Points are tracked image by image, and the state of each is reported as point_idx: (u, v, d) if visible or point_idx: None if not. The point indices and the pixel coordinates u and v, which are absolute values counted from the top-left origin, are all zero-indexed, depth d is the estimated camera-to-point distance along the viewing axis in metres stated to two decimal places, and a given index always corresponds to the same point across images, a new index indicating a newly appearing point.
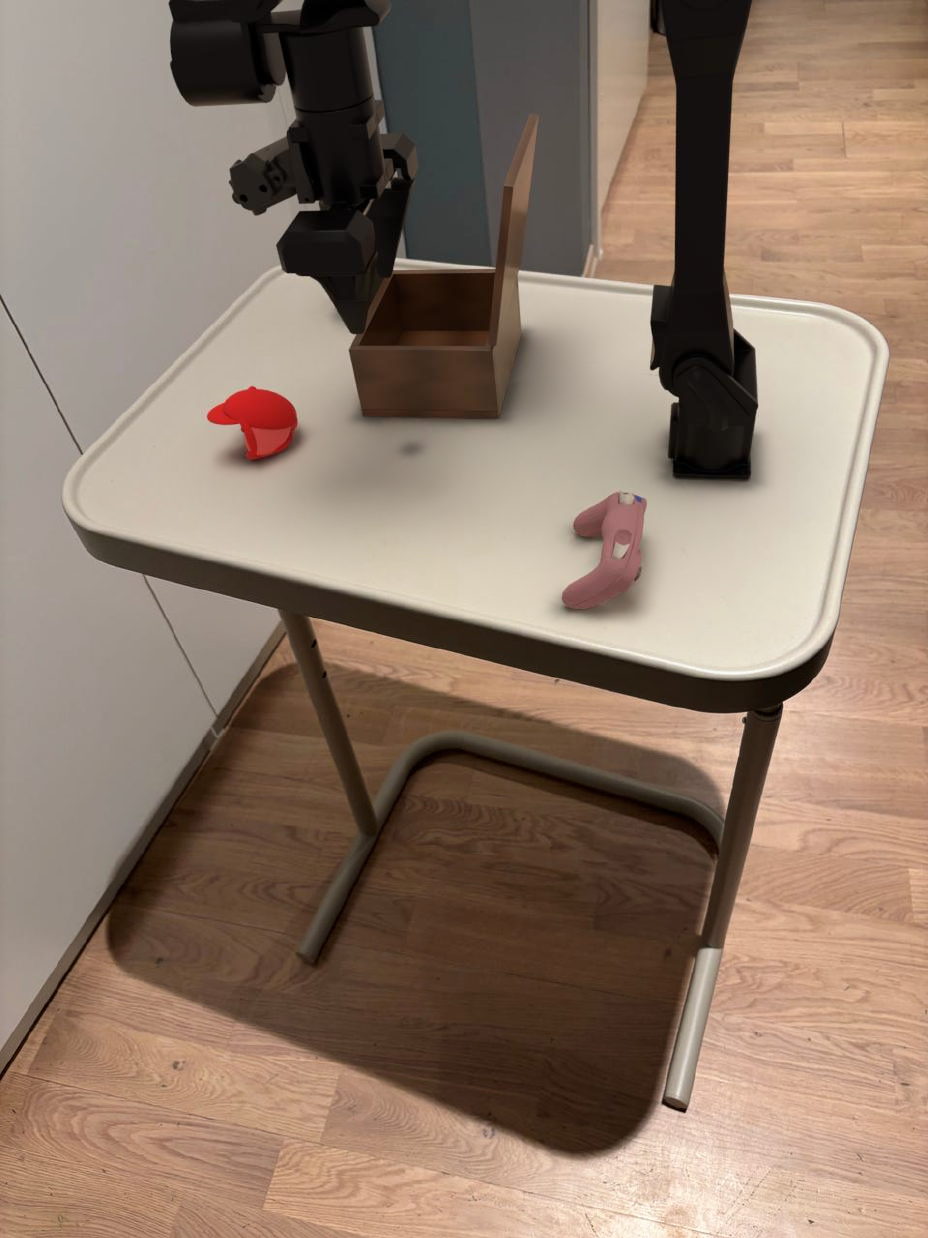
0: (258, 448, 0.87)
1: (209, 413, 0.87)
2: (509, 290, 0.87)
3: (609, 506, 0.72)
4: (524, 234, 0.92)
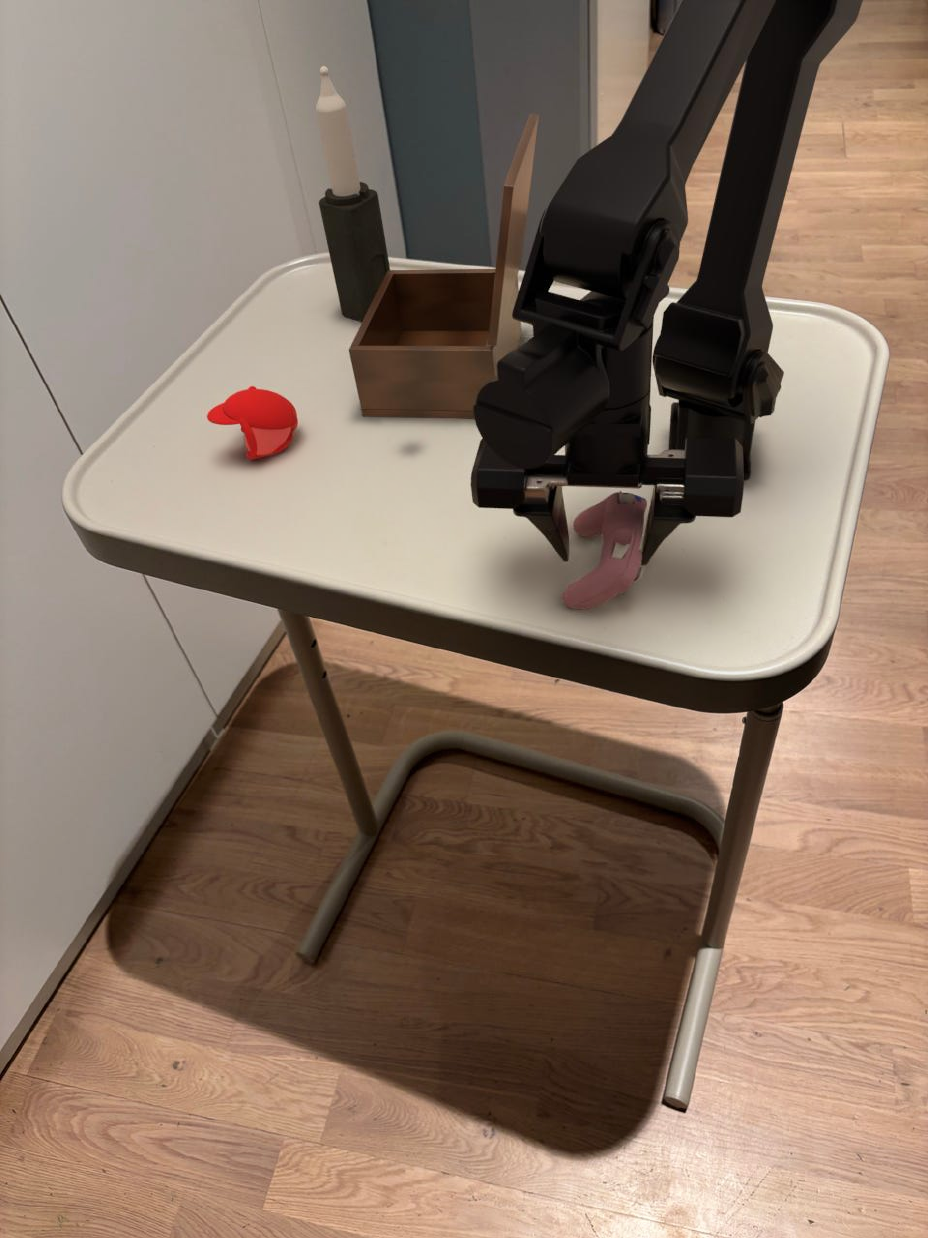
0: (258, 448, 0.87)
1: (209, 413, 0.87)
2: (509, 290, 0.87)
3: (609, 506, 0.72)
4: (524, 234, 0.92)
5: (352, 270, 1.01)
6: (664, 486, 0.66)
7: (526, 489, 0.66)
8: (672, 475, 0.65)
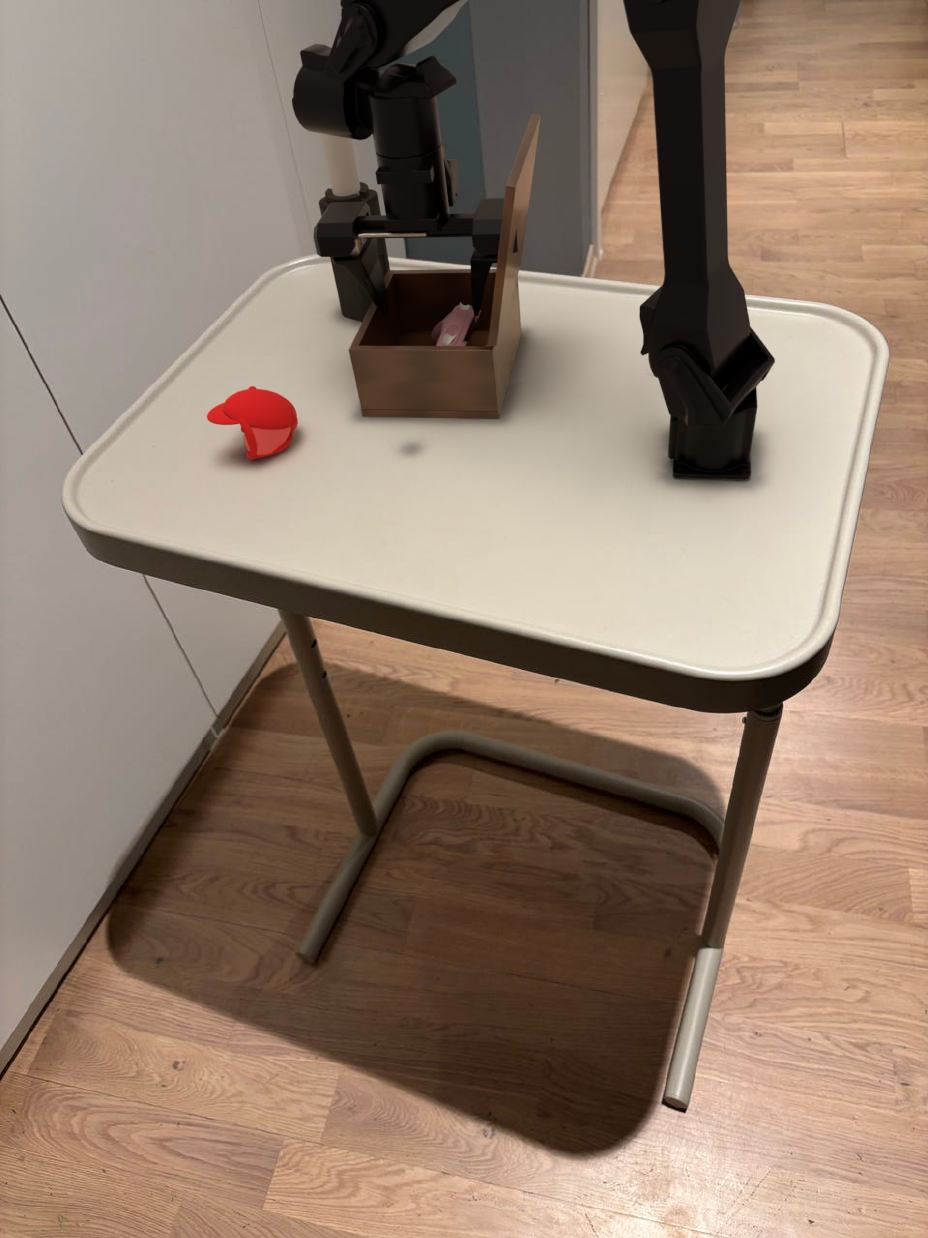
0: (258, 448, 0.87)
1: (209, 413, 0.87)
2: (509, 290, 0.87)
3: (450, 313, 0.93)
4: (524, 234, 0.92)
5: None
6: None
7: None
8: (468, 226, 0.84)
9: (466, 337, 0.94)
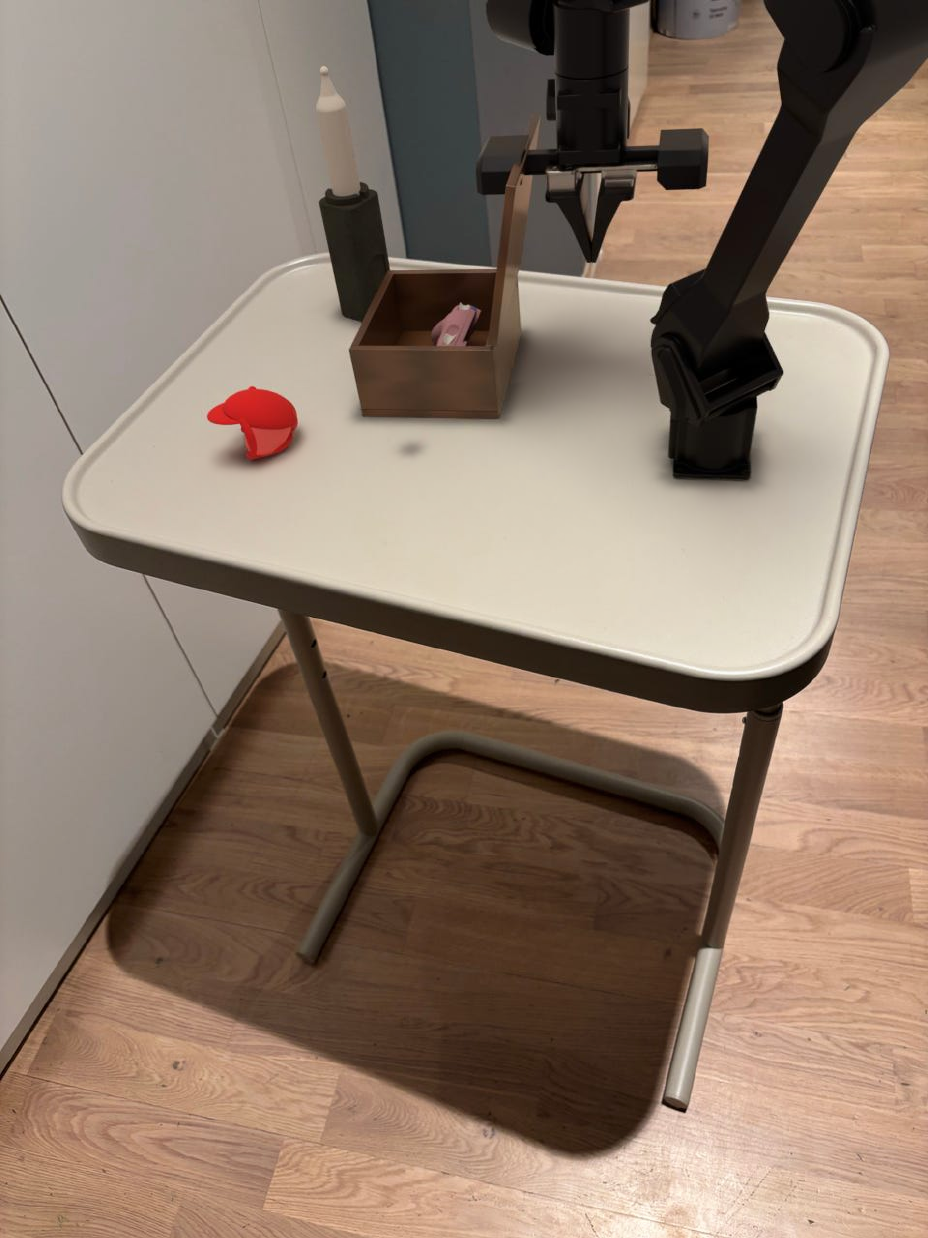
0: (258, 448, 0.87)
1: (209, 413, 0.87)
2: (509, 290, 0.87)
3: (450, 313, 0.93)
4: (524, 234, 0.92)
5: (352, 270, 1.01)
6: (607, 171, 0.77)
7: (557, 173, 0.77)
8: (648, 160, 0.76)
9: (466, 337, 0.94)
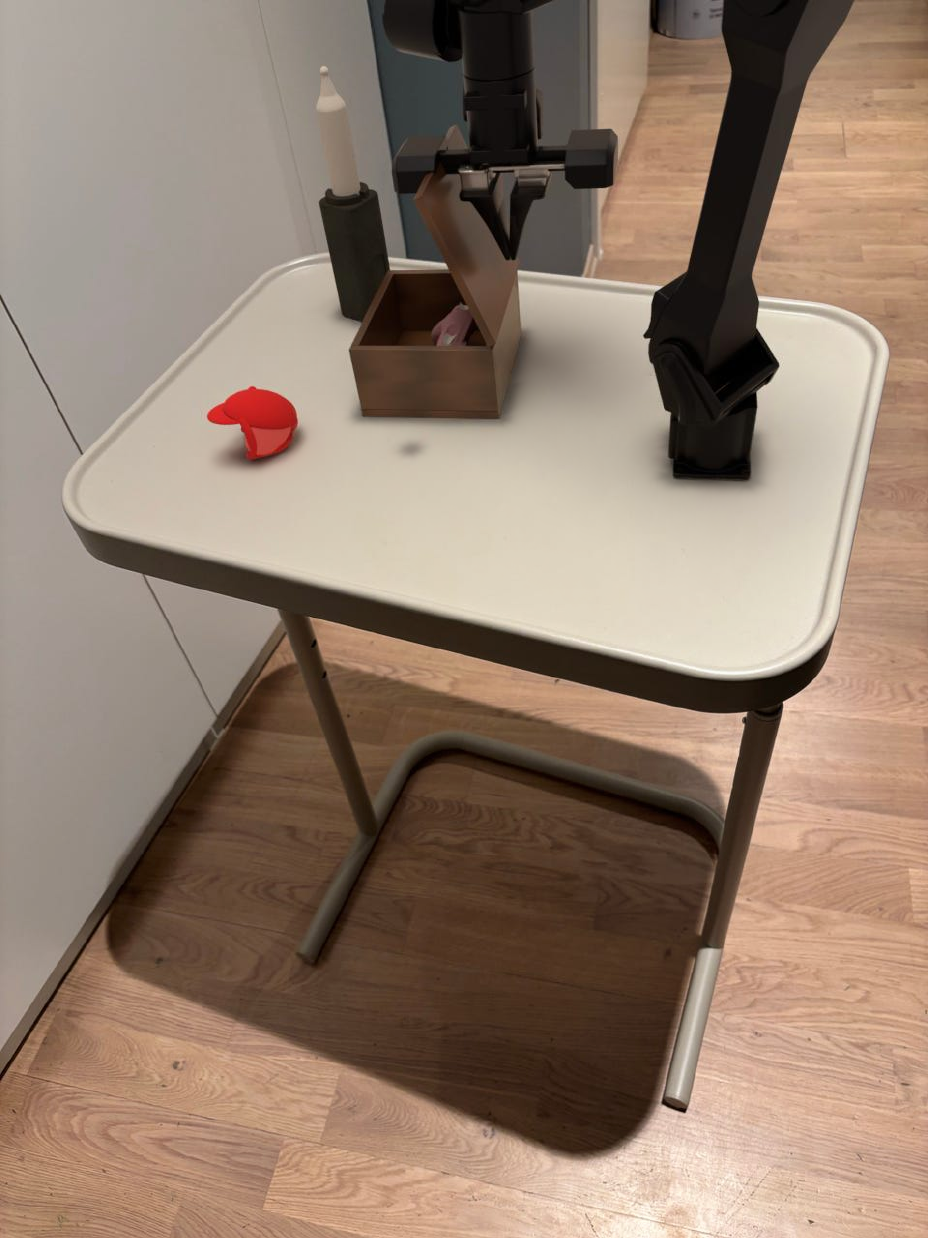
0: (258, 448, 0.87)
1: (209, 413, 0.87)
2: (497, 289, 0.87)
3: (450, 313, 0.93)
4: None
5: (352, 270, 1.01)
6: (520, 170, 0.79)
7: (469, 172, 0.79)
8: (558, 159, 0.78)
9: (466, 337, 0.94)
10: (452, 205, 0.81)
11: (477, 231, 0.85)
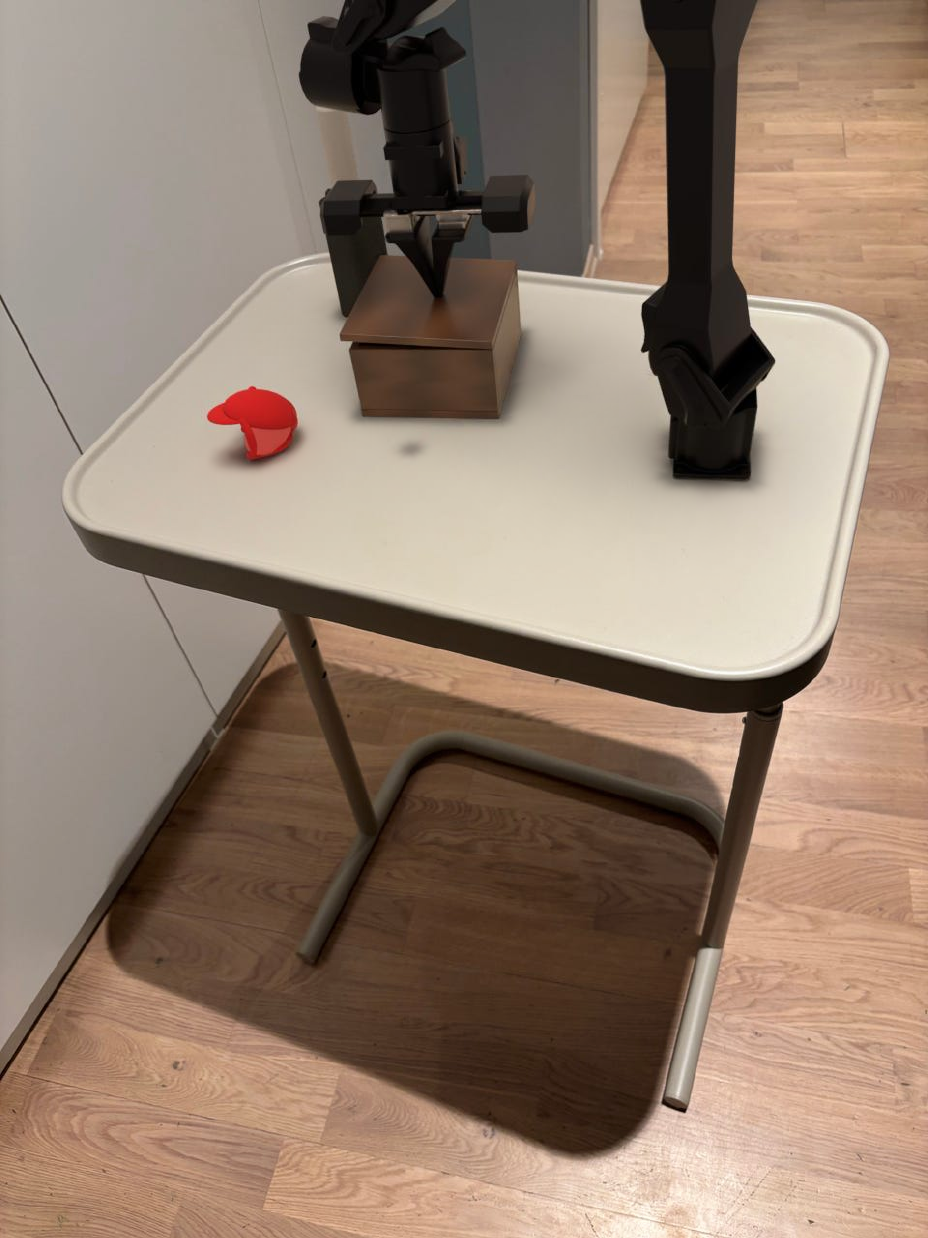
0: (258, 448, 0.87)
1: (209, 413, 0.87)
2: (481, 304, 0.88)
3: None
4: (485, 259, 0.94)
5: (352, 270, 1.01)
6: (441, 214, 0.83)
7: (393, 216, 0.83)
8: (477, 204, 0.82)
9: None
10: (388, 305, 0.89)
11: None
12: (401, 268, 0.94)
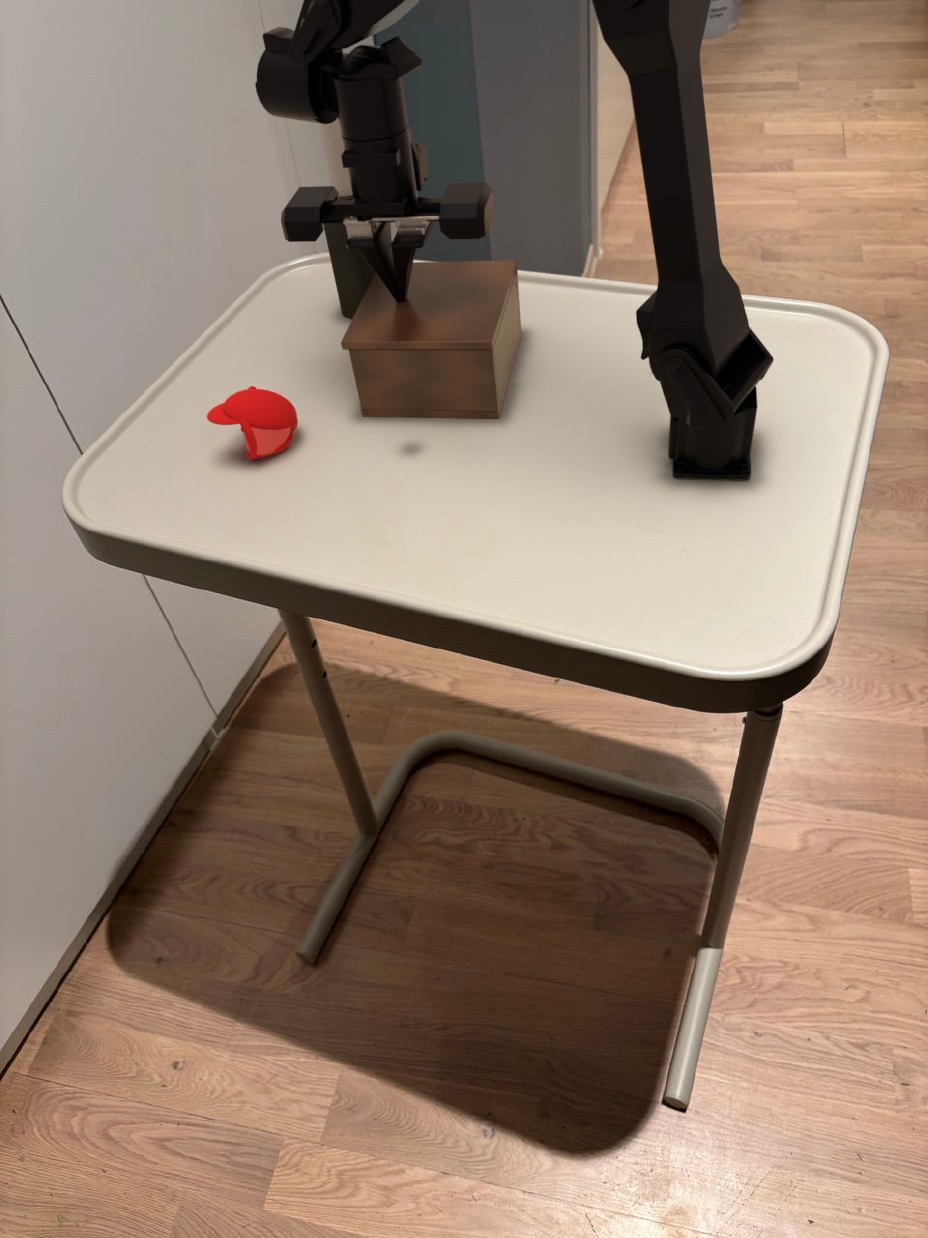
0: (258, 448, 0.87)
1: (209, 413, 0.87)
2: (481, 306, 0.88)
3: None
4: (485, 261, 0.95)
5: (352, 270, 1.01)
6: (400, 220, 0.84)
7: (353, 223, 0.84)
8: (436, 211, 0.83)
9: None
10: (388, 312, 0.90)
11: (433, 297, 0.91)
12: None
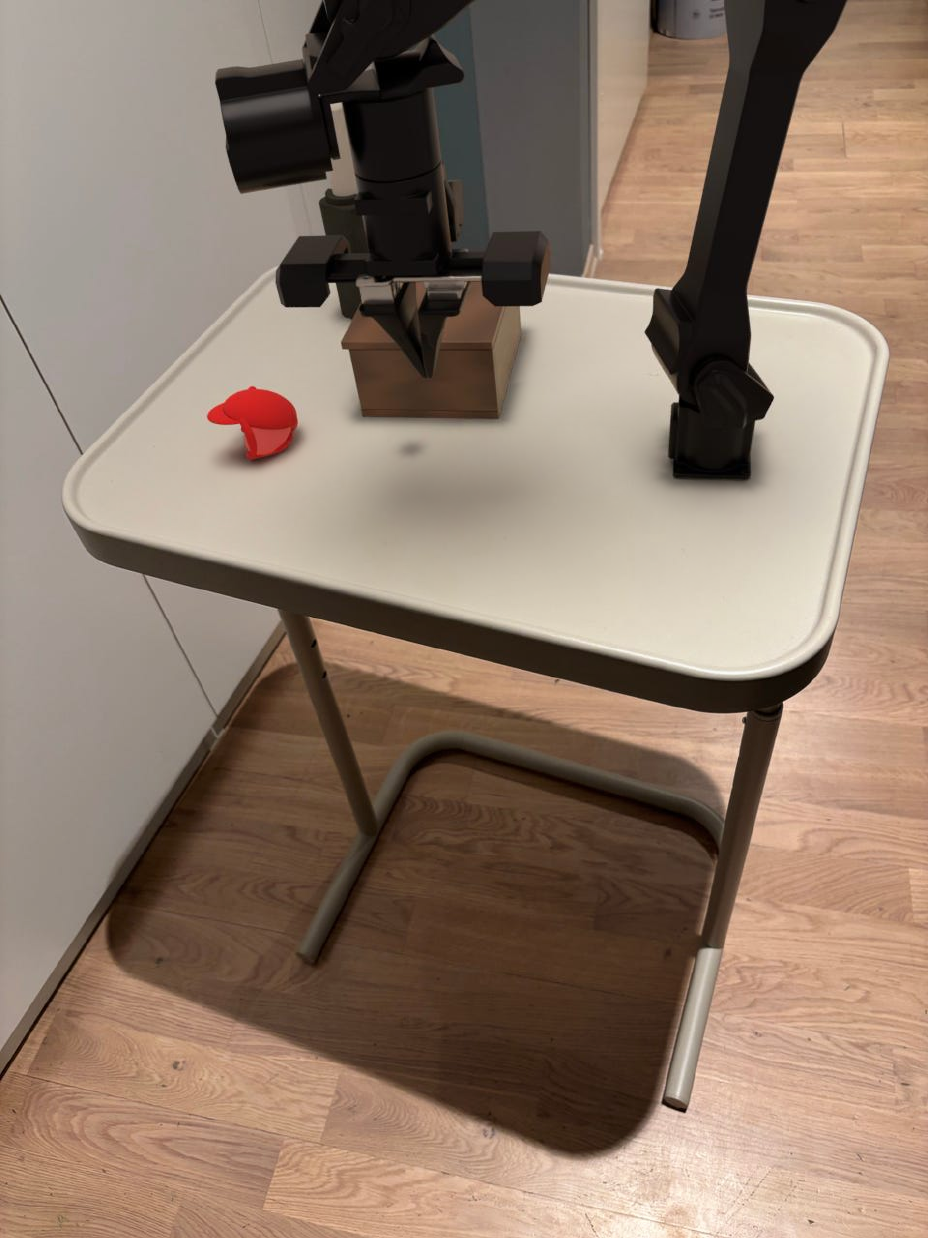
0: (258, 448, 0.87)
1: (209, 413, 0.87)
2: (481, 306, 0.88)
3: None
4: None
5: None
6: None
7: (369, 285, 0.65)
8: (476, 269, 0.64)
9: None
10: None
11: None
12: None
